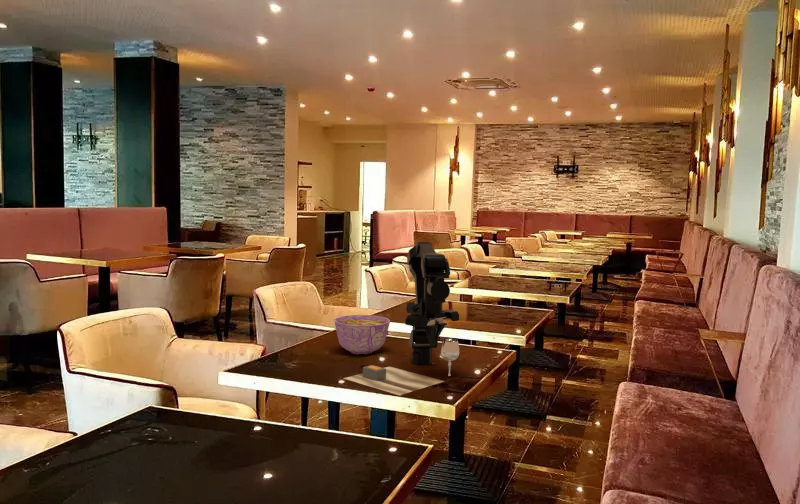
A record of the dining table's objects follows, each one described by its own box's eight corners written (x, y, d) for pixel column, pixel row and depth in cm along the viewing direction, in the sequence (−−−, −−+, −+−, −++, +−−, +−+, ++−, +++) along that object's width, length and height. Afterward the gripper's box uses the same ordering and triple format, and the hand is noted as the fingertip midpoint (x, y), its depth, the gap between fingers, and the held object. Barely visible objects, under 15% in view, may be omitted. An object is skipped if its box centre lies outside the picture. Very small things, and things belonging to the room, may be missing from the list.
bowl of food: (388, 359, 224) (389, 326, 223) (330, 358, 224) (330, 324, 223) (390, 346, 244) (390, 315, 243) (336, 344, 244) (337, 314, 243)
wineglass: (457, 381, 199) (458, 343, 198) (438, 380, 200) (439, 341, 199) (459, 376, 204) (460, 339, 203) (441, 375, 206) (442, 337, 205)
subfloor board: (388, 369, 211) (389, 366, 211) (444, 384, 196) (444, 381, 196) (343, 381, 197) (343, 378, 196) (399, 398, 181) (399, 395, 181)
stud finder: (372, 374, 201) (372, 364, 201) (386, 378, 197) (386, 368, 197) (362, 376, 198) (362, 366, 198) (376, 381, 194) (376, 370, 194)
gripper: (434, 290, 212) (433, 337, 213) (393, 295, 199) (392, 345, 200) (460, 294, 204) (459, 343, 205) (419, 299, 191) (418, 352, 192)
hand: (432, 345), depth 201 cm, fingers closed
